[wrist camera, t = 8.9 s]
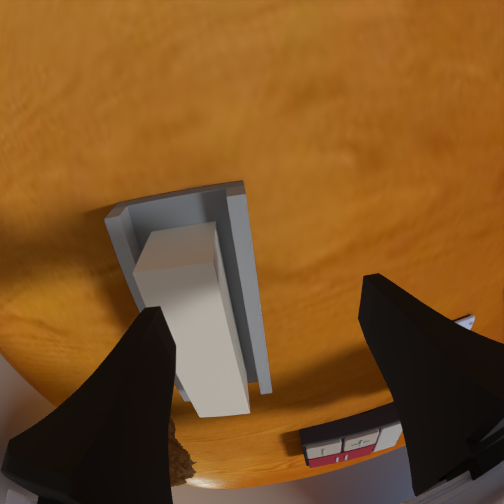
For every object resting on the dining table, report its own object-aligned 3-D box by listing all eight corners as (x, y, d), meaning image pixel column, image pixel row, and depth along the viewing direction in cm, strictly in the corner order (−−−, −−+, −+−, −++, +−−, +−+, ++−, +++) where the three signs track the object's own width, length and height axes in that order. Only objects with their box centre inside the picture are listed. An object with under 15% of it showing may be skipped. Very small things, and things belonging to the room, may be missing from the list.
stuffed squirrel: (89, 417, 31) (72, 501, 19) (133, 381, 26) (113, 500, 15) (150, 444, 35) (144, 522, 23) (209, 415, 30) (211, 520, 19)
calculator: (302, 450, 31) (412, 421, 30) (298, 423, 35) (402, 396, 34) (306, 470, 37) (397, 447, 35) (303, 448, 40) (390, 427, 39)
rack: (268, 371, 26) (272, 393, 24) (185, 380, 26) (184, 401, 24) (243, 180, 17) (245, 194, 15) (117, 203, 17) (103, 219, 15)
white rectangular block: (246, 369, 24) (250, 413, 21) (201, 374, 24) (200, 417, 21) (215, 221, 17) (213, 261, 14) (151, 231, 17) (132, 273, 14)
